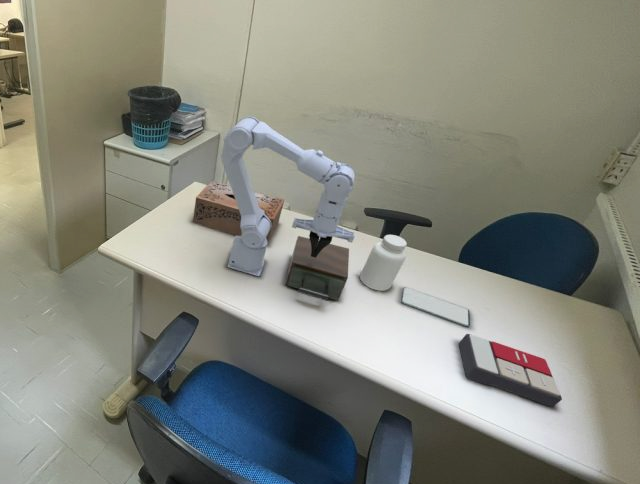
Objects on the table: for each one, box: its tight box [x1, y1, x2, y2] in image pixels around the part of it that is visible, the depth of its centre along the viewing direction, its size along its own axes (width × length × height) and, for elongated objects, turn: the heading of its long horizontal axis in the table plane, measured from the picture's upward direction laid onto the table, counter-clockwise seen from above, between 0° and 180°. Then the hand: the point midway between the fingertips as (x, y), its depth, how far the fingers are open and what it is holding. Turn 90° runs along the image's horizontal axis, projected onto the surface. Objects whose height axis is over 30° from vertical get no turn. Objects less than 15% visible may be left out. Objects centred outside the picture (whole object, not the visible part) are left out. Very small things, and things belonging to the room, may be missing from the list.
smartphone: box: [401, 287, 471, 327], centre depth 105 cm, size 7×1×15 cm
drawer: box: [287, 266, 344, 301], centre depth 109 cm, size 17×13×6 cm
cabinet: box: [284, 235, 350, 301], centre depth 112 cm, size 14×14×8 cm
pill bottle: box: [359, 234, 408, 292], centre depth 109 cm, size 8×8×15 cm
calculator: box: [458, 333, 563, 408], centre depth 87 cm, size 11×4×15 cm
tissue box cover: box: [192, 180, 285, 246], centre depth 135 cm, size 26×14×10 cm, turn 59°
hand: (313, 255), depth 106 cm, fingers closed
